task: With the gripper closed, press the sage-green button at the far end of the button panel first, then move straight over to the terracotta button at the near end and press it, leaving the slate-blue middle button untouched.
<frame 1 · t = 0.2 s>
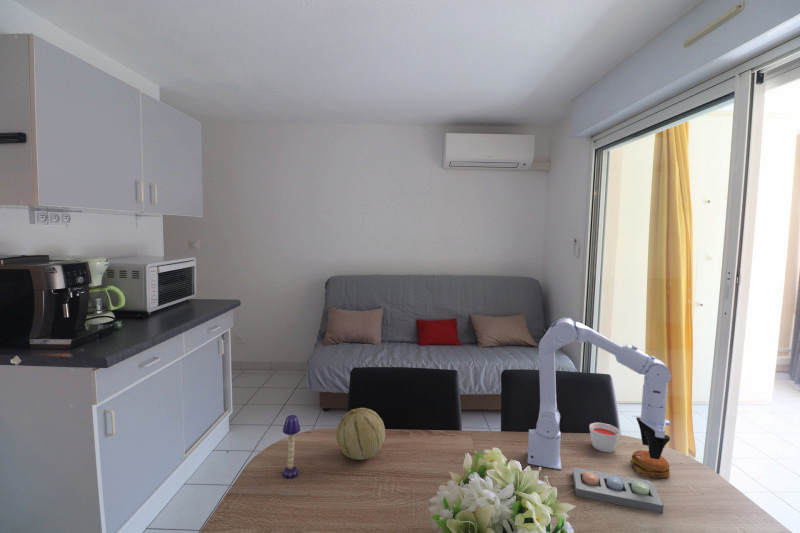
hand: (650, 451, 114), 9 cm above the table, tool pointing down, fingers open, 7 cm apart
green button: (640, 488, 108), point 2 cm above the table, slide at 0.0 cm
candle: (603, 448, 135), on the table
burger: (649, 471, 122), on the table
terracotta button: (590, 479, 112), point 2 cm above the table, slide at 0.0 cm
toy lamp: (290, 475, 114), on the table
cantaloupe: (360, 457, 125), on the table
button panel: (614, 491, 110), on the table
blue button: (614, 484, 110), point 2 cm above the table, slide at 0.0 cm
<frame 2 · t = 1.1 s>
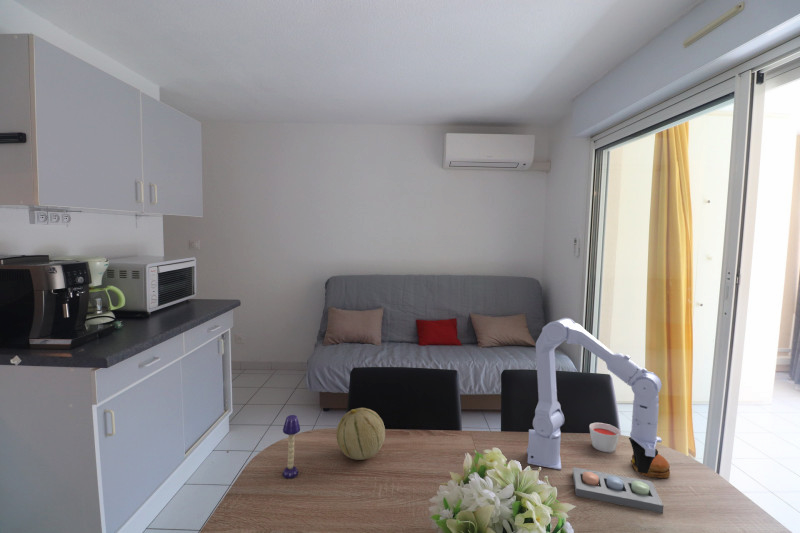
hand: (641, 469, 108), 7 cm above the table, tool pointing down, fingers closed
nothing on the table moved.
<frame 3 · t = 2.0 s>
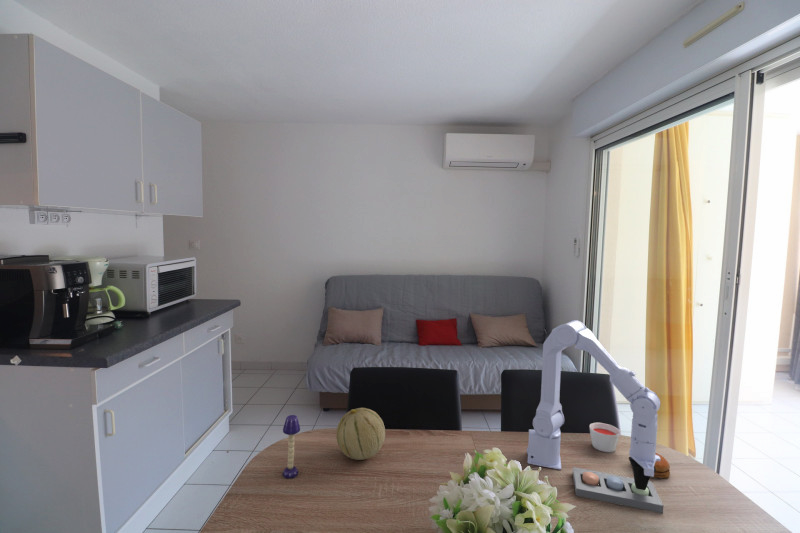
hand: (640, 488, 108), 2 cm above the table, tool pointing down, fingers closed, pressing on green button
green button: (639, 491, 108), point 1 cm above the table, slide at 0.7 cm, touching gripper
everything else where it was.
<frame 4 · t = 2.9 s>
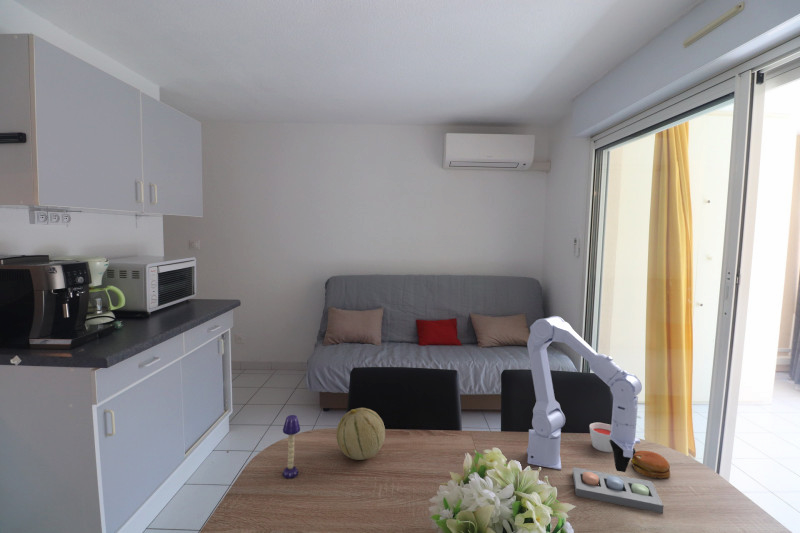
hand: (620, 470, 110), 6 cm above the table, tool pointing down, fingers closed
green button: (639, 491, 108), point 1 cm above the table, slide at 0.7 cm
everything else where it was.
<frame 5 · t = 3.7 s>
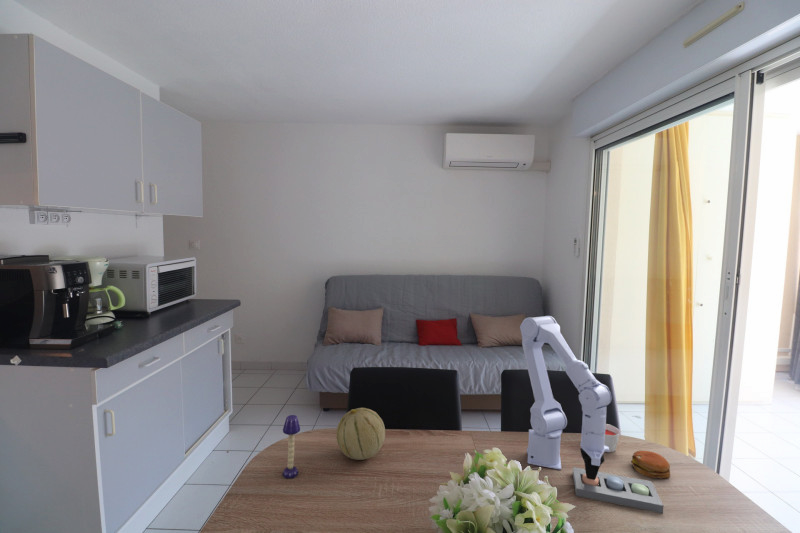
hand: (590, 477, 112), 3 cm above the table, tool pointing down, fingers closed, pressing on terracotta button
terracotta button: (590, 481, 112), point 2 cm above the table, slide at 0.5 cm, touching gripper
everything else where it was.
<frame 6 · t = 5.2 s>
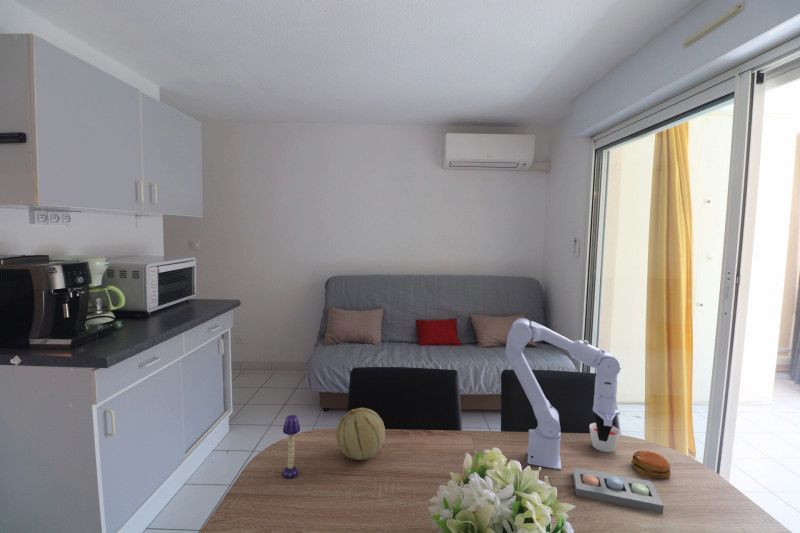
hand: (602, 440, 120), 9 cm above the table, tool pointing down, fingers closed
terracotta button: (590, 482, 112), point 1 cm above the table, slide at 0.7 cm
everything else where it was.
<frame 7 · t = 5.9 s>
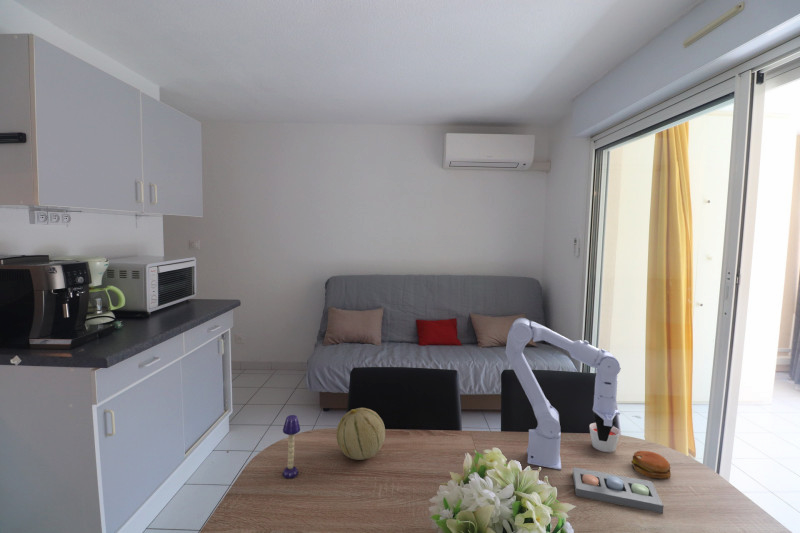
hand: (602, 440, 120), 9 cm above the table, tool pointing down, fingers closed
nothing on the table moved.
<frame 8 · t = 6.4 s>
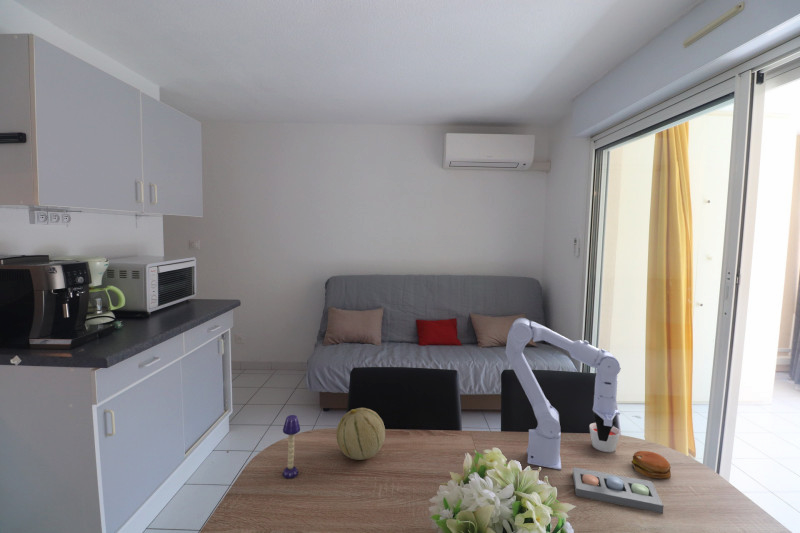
hand: (602, 440, 120), 9 cm above the table, tool pointing down, fingers closed
nothing on the table moved.
at the end: green button slide at 0.7 cm; terracotta button slide at 0.7 cm; blue button slide at 0.0 cm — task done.
